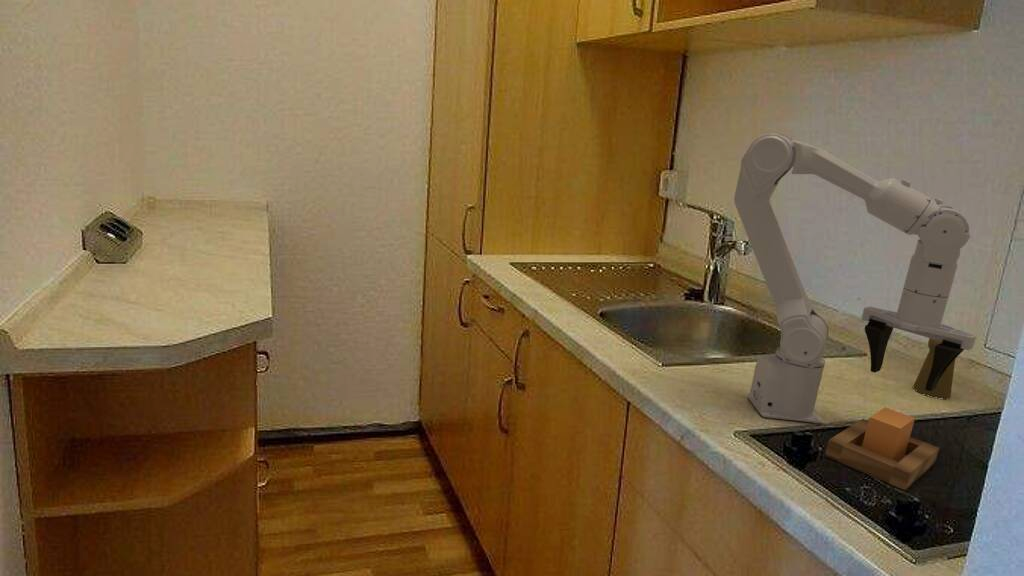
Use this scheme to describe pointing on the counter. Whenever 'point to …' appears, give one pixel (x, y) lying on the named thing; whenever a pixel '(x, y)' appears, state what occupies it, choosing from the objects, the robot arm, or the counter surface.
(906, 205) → the robot arm
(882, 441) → the tall wooden block
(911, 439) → the well
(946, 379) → the cork
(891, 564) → the counter surface
